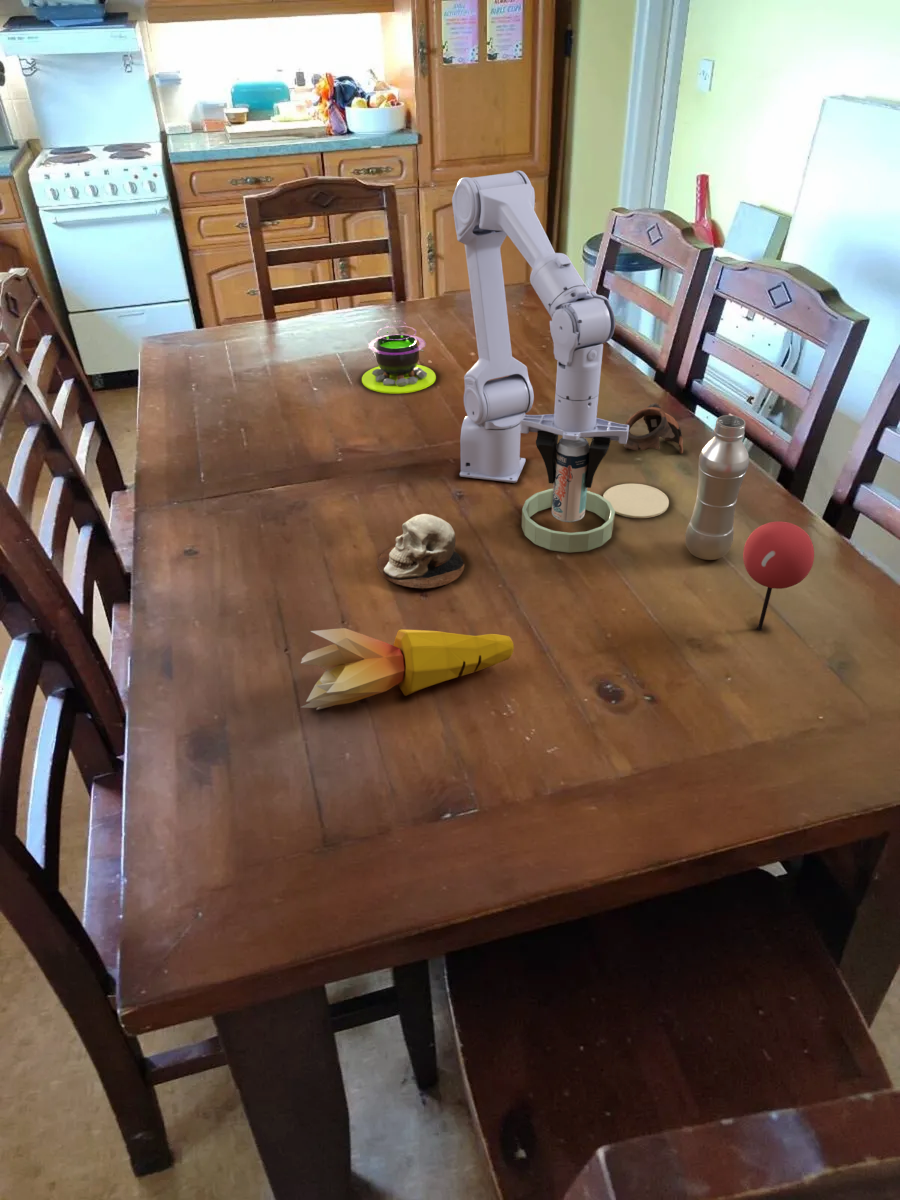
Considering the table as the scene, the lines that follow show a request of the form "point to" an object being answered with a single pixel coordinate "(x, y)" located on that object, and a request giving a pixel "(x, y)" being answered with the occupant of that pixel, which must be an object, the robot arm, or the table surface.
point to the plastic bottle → (718, 490)
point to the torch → (397, 662)
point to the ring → (565, 539)
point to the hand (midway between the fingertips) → (570, 482)
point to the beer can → (570, 479)
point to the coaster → (637, 500)
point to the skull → (422, 554)
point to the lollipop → (778, 557)
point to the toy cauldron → (398, 365)
